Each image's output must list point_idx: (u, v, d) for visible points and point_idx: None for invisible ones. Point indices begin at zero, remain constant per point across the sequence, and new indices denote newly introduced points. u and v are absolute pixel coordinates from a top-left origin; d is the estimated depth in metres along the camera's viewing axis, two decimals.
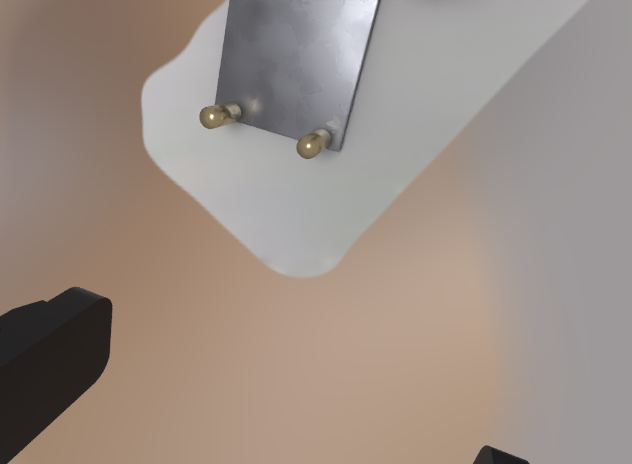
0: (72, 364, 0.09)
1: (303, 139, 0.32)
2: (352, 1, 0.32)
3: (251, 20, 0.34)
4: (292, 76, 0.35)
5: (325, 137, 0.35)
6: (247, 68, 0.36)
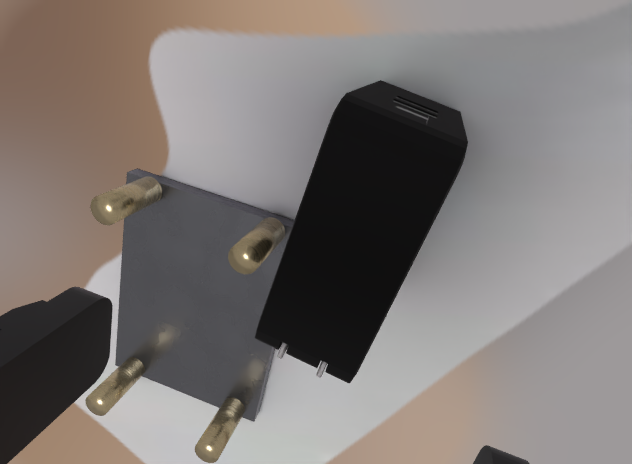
0: (72, 364, 0.09)
1: (202, 444, 0.28)
2: (257, 285, 0.27)
3: (147, 285, 0.29)
4: (197, 344, 0.30)
5: (235, 418, 0.30)
6: (147, 329, 0.31)
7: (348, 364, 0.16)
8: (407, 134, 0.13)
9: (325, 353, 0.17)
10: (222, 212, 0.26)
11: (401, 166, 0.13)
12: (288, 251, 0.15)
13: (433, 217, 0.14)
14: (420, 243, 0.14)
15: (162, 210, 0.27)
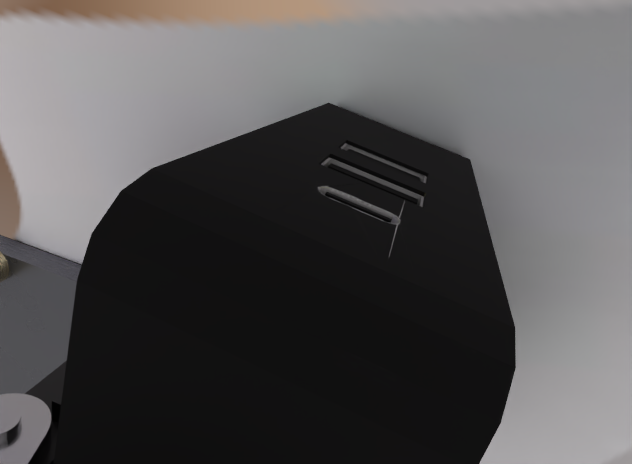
0: None
1: None
2: None
3: (7, 393, 0.20)
4: None
5: None
6: None
7: None
8: (320, 315, 0.04)
9: None
10: None
11: (304, 415, 0.04)
12: None
13: None
14: None
15: (13, 293, 0.18)
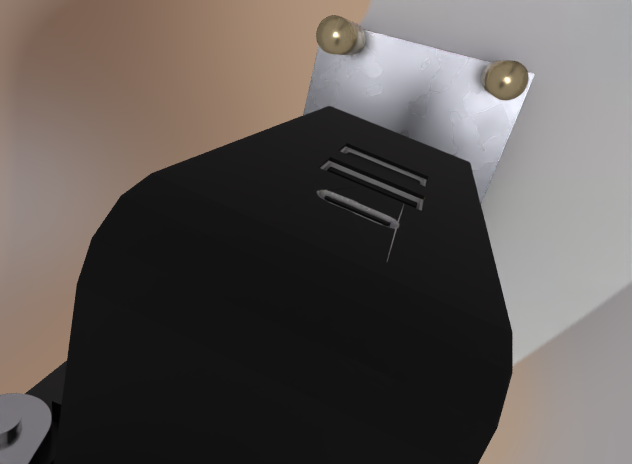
0: None
1: None
2: (467, 148, 0.24)
3: None
4: None
5: None
6: None
7: None
8: (317, 320, 0.04)
9: None
10: (438, 60, 0.23)
11: (301, 418, 0.04)
12: None
13: None
14: None
15: (361, 64, 0.24)
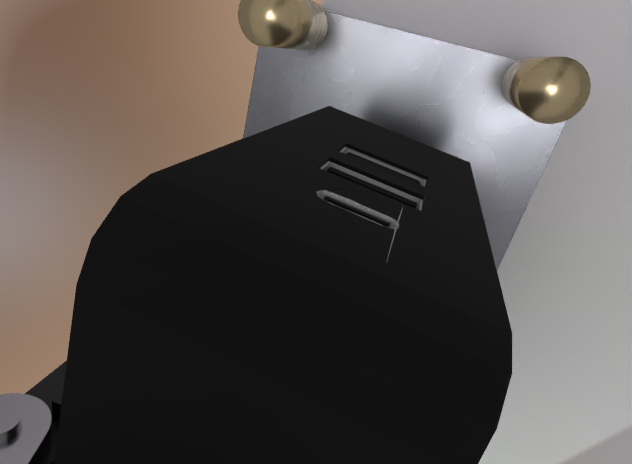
0: None
1: None
2: (479, 187, 0.16)
3: None
4: None
5: None
6: None
7: None
8: (317, 321, 0.04)
9: None
10: (436, 56, 0.15)
11: (301, 419, 0.04)
12: None
13: None
14: None
15: (323, 63, 0.16)
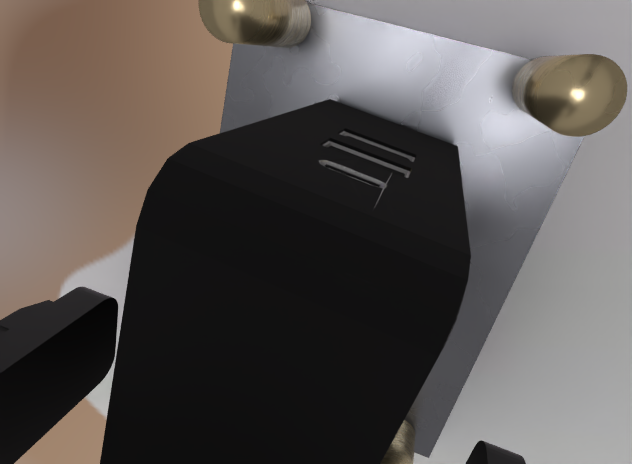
0: (79, 363, 0.09)
1: None
2: (485, 206, 0.14)
3: None
4: None
5: (411, 455, 0.17)
6: None
7: None
8: (320, 245, 0.05)
9: None
10: (436, 55, 0.13)
11: (310, 322, 0.05)
12: (107, 462, 0.07)
13: (394, 435, 0.06)
14: None
15: (306, 62, 0.14)
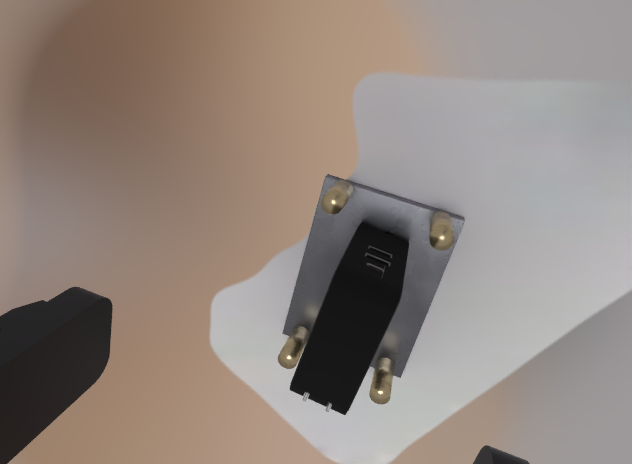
0: (72, 364, 0.09)
1: (376, 389, 0.35)
2: (422, 264, 0.35)
3: (325, 265, 0.37)
4: None
5: (391, 372, 0.38)
6: (318, 302, 0.39)
7: (344, 404, 0.29)
8: (371, 287, 0.26)
9: (331, 398, 0.29)
10: (401, 207, 0.34)
11: (368, 303, 0.26)
12: (310, 343, 0.28)
13: (386, 328, 0.27)
14: (380, 340, 0.27)
15: (350, 206, 0.35)
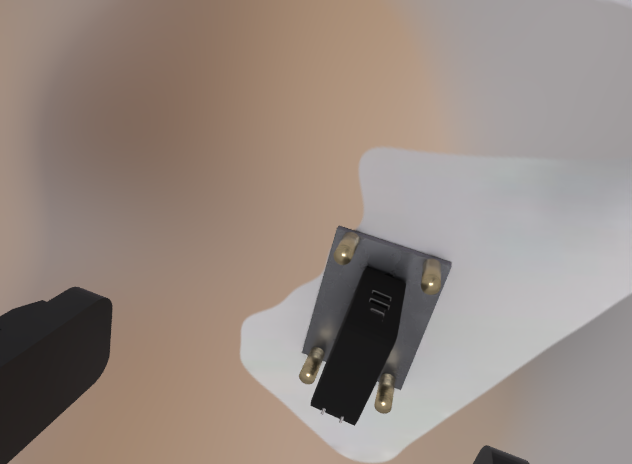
0: (72, 364, 0.09)
1: (380, 401, 0.43)
2: (417, 299, 0.43)
3: (337, 299, 0.45)
4: None
5: (393, 386, 0.45)
6: (331, 328, 0.47)
7: (353, 417, 0.37)
8: (373, 331, 0.34)
9: (343, 413, 0.37)
10: (399, 254, 0.42)
11: (372, 342, 0.34)
12: (326, 371, 0.36)
13: (385, 361, 0.34)
14: (381, 370, 0.35)
15: (357, 252, 0.43)
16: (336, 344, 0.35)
